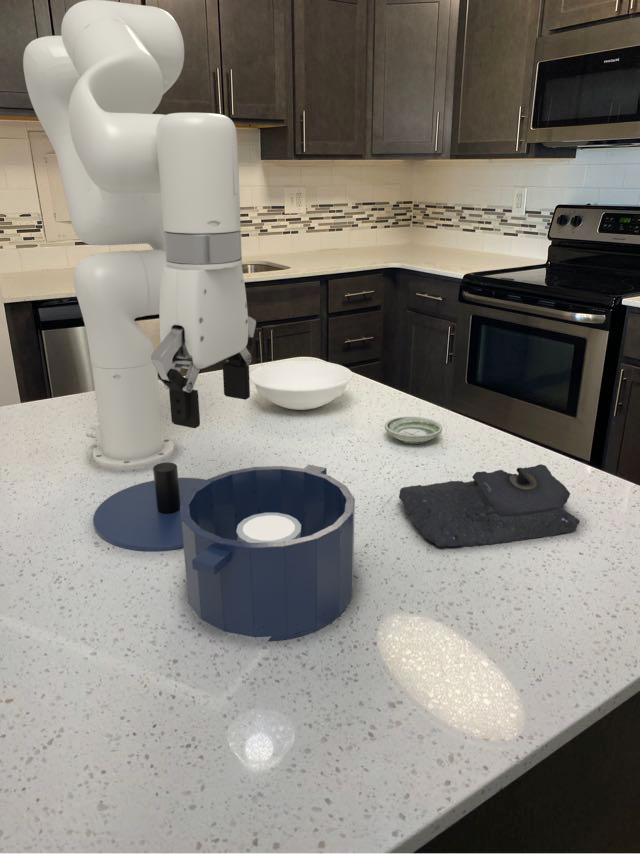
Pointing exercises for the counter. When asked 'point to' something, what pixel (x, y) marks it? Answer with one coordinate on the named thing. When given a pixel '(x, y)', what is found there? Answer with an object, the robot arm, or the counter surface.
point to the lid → (146, 512)
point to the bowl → (301, 383)
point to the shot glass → (268, 528)
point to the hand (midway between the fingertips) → (212, 410)
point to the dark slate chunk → (490, 508)
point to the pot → (269, 552)
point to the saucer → (413, 429)
